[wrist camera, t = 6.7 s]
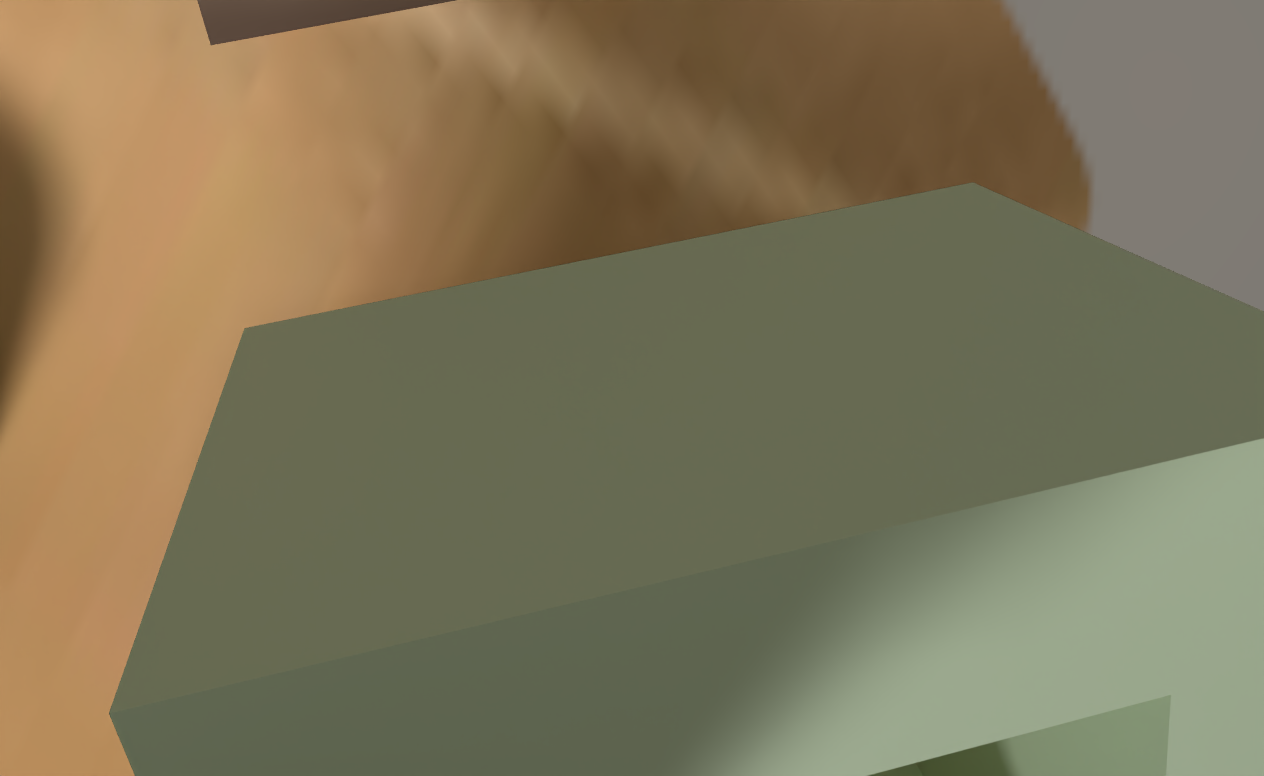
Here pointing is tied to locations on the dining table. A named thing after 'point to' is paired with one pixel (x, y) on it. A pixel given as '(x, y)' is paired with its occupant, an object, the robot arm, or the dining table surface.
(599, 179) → the dining table surface
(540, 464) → the green square socket block
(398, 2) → the rod stand
